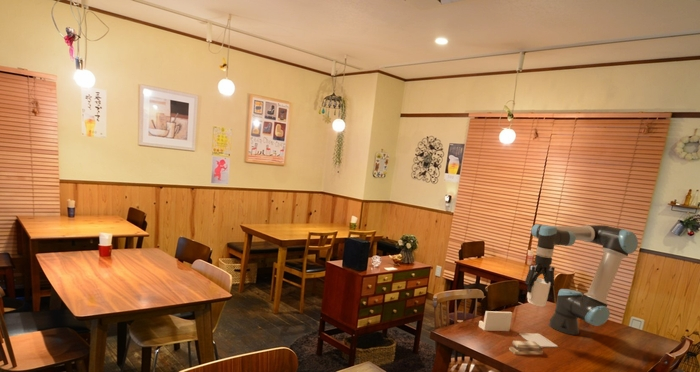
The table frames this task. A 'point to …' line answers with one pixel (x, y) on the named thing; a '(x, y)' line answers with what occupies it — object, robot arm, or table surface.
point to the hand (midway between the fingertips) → (537, 298)
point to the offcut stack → (526, 347)
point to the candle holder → (540, 292)
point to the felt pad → (538, 339)
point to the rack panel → (496, 321)
